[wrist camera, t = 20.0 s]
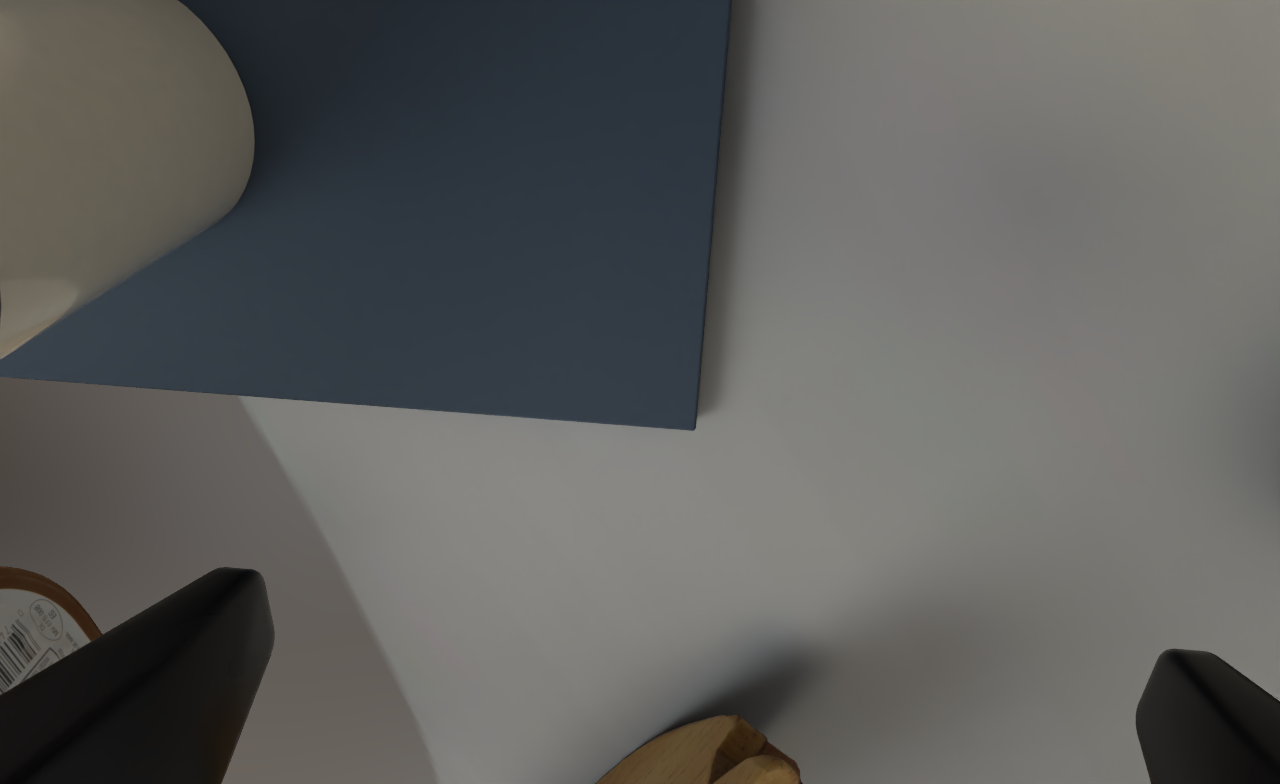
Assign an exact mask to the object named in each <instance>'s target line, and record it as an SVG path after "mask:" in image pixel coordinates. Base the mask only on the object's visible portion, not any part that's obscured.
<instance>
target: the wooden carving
mask: <svg viewBox="0 0 1280 784" xmlns="http://www.w3.org/2000/svg"><path fill="white" fill-rule="evenodd" d="M596 784H802V782H801V780H800V770H799V768H798V766H797V764H796V762H795V761H794V760H792V759H791V758H789V757H788V756H786V755H785V754H784V753H782V752H781V751H780V750H778V749H777V748H775V747H774V746H773V745H771V744H770V743H769V742H768V741H767V738H766V737H765V736H764V735H763V734H761V733H760V732H759V731H757V730H756V729H755V728H753V727H752V726H751V725H749V724H748V722H747V721H746V720H745V719H744V718H742V717H741V716H739V715H736V714H735V715H731V716H726V715H719V716H715V717H711V718H707V719H704V720H700V721H697V722H693V723H689V724H686V725H684V726H681V727H679V728H676V729H674V730H671V731H669V732H666V733H664V734H662V735H660V736H658V737H656V738H654V739H653V740H651V741H649V742H648V743H646V744H645V745H643V746H642V747H640V748H639V749H637V750H636V751H634V752H633V753H632V754H630V755H629V756H627V757H626V758H624V759H623V760H622V761H621V762H620V763H619V764H618V765H617V766H615V767H614V768H613V769H612V770H611V771H609V772H608V773H607V774H606V775H605V776H604V777H602V778H601V779H600V780H599V781H598V782H597V783H596Z"/></svg>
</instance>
